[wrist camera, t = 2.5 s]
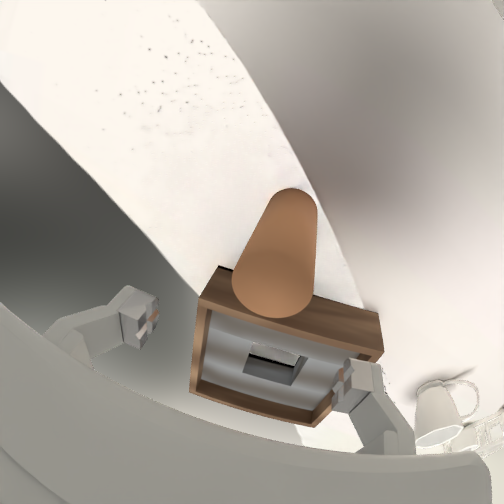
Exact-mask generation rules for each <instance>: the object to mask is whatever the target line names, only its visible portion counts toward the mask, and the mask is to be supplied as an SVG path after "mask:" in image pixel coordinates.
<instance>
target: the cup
mask: <svg viewBox="0 0 504 504" xmlns="http://www.w3.org/2000/svg"><path fill="white" fill-rule="evenodd" d="M448 384H461V385H467V386H470V387H473V388H474V390H475V391H476V393H477V404H476V407H475V409H474V411H473V412H472V413H471V414H469V415H465V416H461V417H460V415H459V413H458V410H457V408H456V405H455V403H454V400H453V398H452V397H451V395H450V393H449V392H448V390H447V389H446V388H444V386H446V385H448ZM417 397H418V400H417V405H416V412H415V427H414V436H415V446H416V447H417V448H422V449H425V448H430V447H434V446H438V445H442V444H444V443H446V442H447V441H449V440H451V439H453V438H455V437H457V436H458V435H459V433H460V432H461V431H462V429H463V428H464V426H463V423H462V422H465V421H467V420H469V419H470V418H472V417H473V416H474V415H475V414H476V412H477V410H478V407H479V392H478V388H477V387H476V386H475V384H474V383H471V382H469V381H464V380H456V379H455V380H447V381H444V382H443V381H441V380H434V381H430V382H427V383H426V384H424V385H423V386H421V387H420V388H418V391H417Z"/></svg>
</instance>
